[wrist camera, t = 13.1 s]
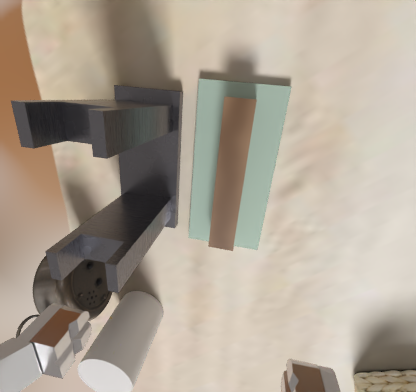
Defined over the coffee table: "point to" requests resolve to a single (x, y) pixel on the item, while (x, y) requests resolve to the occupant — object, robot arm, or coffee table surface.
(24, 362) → the robot arm
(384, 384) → the storage basket
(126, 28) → the coffee table surface
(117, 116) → the hook stand
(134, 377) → the white cylinder
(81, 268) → the alarm clock
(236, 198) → the rail
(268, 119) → the mat
